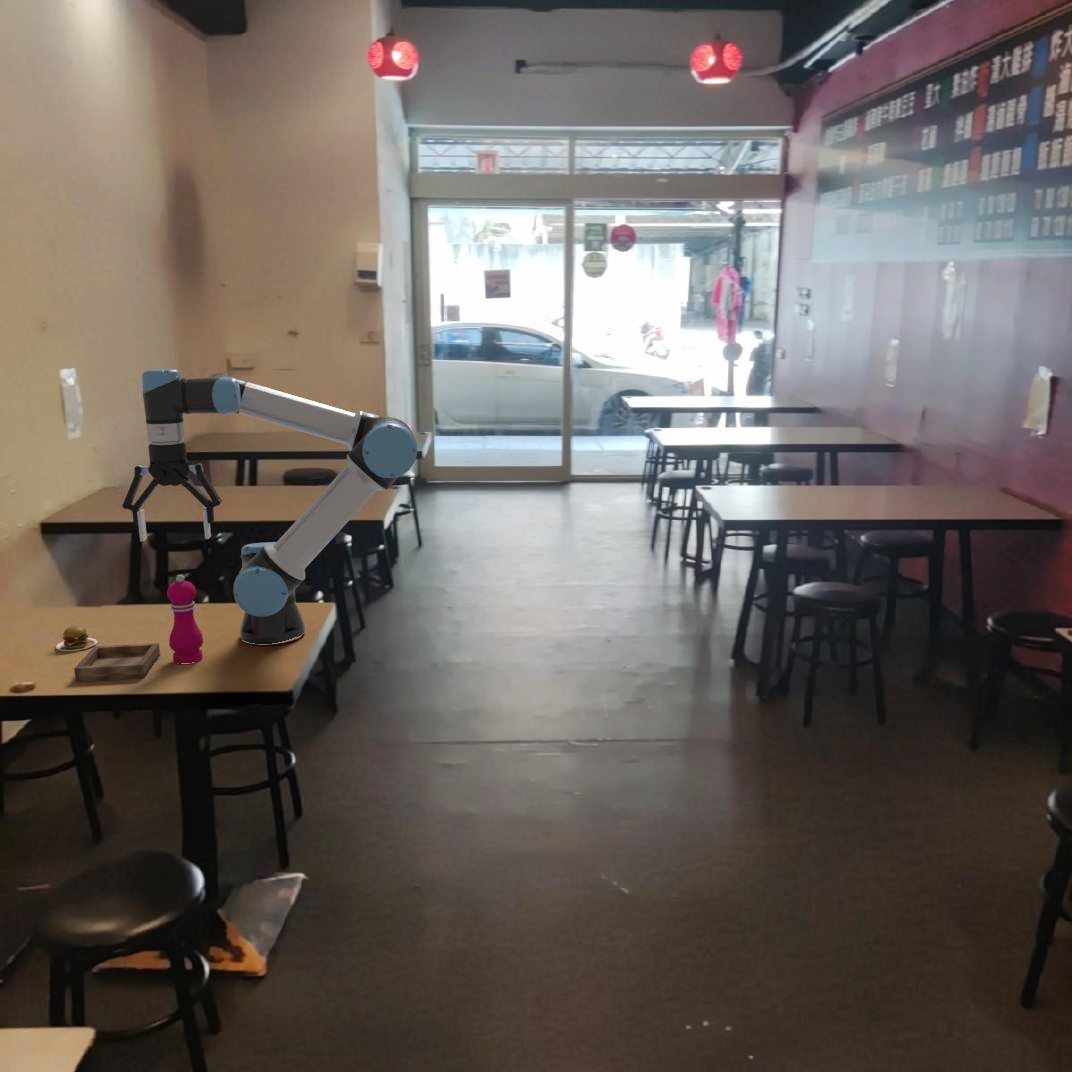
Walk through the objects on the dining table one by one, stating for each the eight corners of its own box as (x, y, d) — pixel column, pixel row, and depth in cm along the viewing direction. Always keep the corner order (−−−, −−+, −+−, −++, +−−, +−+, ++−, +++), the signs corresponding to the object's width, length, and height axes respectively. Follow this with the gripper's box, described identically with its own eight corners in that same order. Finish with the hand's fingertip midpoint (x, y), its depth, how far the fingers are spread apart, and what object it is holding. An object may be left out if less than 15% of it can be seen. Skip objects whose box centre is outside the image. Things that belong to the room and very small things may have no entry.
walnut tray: (160, 655, 219) (158, 643, 218) (144, 678, 205) (143, 664, 205) (96, 658, 217) (94, 646, 216) (75, 681, 204) (74, 668, 203)
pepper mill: (210, 654, 219) (202, 570, 215) (196, 666, 212) (188, 579, 208) (180, 654, 220) (171, 570, 215) (165, 665, 213) (156, 578, 208)
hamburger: (106, 637, 233) (104, 616, 232) (102, 653, 222) (100, 631, 221) (52, 643, 229) (49, 621, 228) (45, 660, 218) (42, 637, 217)
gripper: (100, 446, 199) (111, 544, 204) (223, 443, 203) (231, 540, 208) (110, 441, 207) (121, 536, 211) (229, 438, 210) (237, 532, 215)
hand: (176, 538), depth 210 cm, fingers open, 13 cm apart
